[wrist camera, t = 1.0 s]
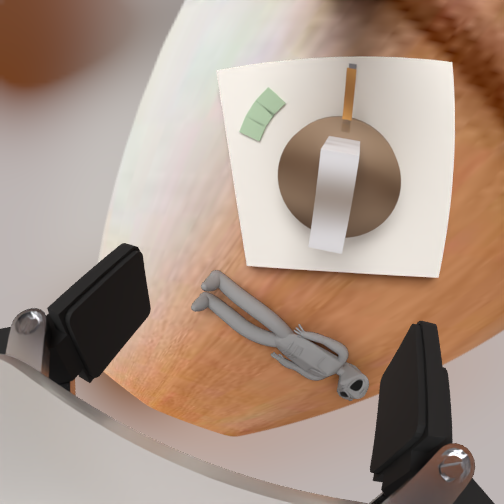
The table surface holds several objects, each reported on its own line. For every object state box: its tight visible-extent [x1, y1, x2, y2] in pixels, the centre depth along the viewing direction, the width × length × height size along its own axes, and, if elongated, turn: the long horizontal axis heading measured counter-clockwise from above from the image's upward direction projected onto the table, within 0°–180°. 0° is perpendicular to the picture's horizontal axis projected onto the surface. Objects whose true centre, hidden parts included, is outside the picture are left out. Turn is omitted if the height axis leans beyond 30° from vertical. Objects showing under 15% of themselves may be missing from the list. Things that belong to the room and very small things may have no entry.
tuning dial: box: [278, 68, 401, 254], centre depth 22 cm, size 14×10×7 cm
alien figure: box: [191, 270, 369, 401], centre depth 38 cm, size 8×5×25 cm
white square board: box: [216, 56, 455, 278], centre depth 26 cm, size 20×20×2 cm
